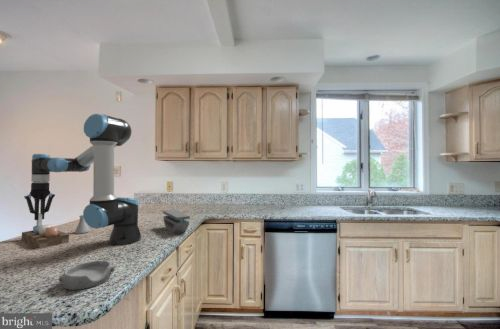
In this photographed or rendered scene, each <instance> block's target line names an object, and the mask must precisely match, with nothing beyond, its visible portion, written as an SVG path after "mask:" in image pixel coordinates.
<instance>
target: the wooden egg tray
mask: <svg viewBox="0 0 500 329" xmlns="http://www.w3.org/2000/svg"><path fill="white" fill-rule="evenodd" d="M21 241H23V242H25V243H28V244H30V245H32V246H34V247H36V248H38V249H42V248H48V247H52V246H57V245H62V244H66V243H70V234H69V233H66V232H63V231H61V230H58V236H56V237H50V238H45V235H41V236H40V235H39V232H38V233H33V230H28V231H27V230H26V231H22V232H21Z"/></svg>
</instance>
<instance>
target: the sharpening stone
mask: <svg viewBox="0 0 500 329" xmlns="http://www.w3.org/2000/svg"><path fill="white" fill-rule="evenodd" d="M162 214H164V215H165V216H164V215H163V222H164V227H165V230H166V231H167V230H168V231H167V232H169V233H170V232H171V234H172V235H173V234H174V235H175V234H180V233H186V231H187V229H188V227H189V226H190V221H189V220H190V217H191V216H190V215H189V214H186V213H183V212H180V211H179V210H176V209H170V210H163V211H162Z"/></svg>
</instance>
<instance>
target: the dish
mask: <svg viewBox="0 0 500 329" xmlns="http://www.w3.org/2000/svg"><path fill="white" fill-rule="evenodd" d="M115 269H116V264H113V265H112V262H110V261H108V260H94V261H93V260H92V261H87V262H82V263H77V264H76V265H75V266H71V267H68V268H67V269H66V270H65V271H64V272H63V274H60V275H59V278H58V282H61V283H62V287H63V288H64V289H67V290H71V291H72V290H73V291H75V290H76V291H77V290H83V289H85V288H86V289H89V288H92V287H96V286H99V285H100V284H102V283H105V282H106V281H108V280H109V279H110V277H111V275H112V273H113V272H115Z"/></svg>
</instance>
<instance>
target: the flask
mask: <svg viewBox="0 0 500 329" xmlns="http://www.w3.org/2000/svg"><path fill="white" fill-rule="evenodd" d="M89 232H91V230H90V226H89V225H88V224H87V223H86V222H85V220H84V216H83V214H81V215H79V222H78V225H77V227H76V228H75V230H74V234H86V233H89Z"/></svg>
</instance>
